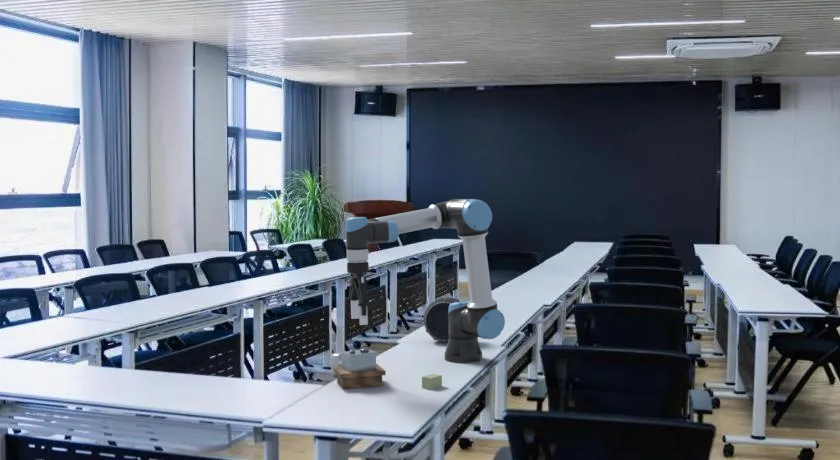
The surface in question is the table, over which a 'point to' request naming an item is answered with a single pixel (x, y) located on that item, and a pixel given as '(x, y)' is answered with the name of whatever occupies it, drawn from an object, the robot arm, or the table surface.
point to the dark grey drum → (438, 318)
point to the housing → (358, 360)
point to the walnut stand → (359, 378)
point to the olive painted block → (431, 381)
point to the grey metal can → (335, 362)
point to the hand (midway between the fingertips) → (359, 321)
